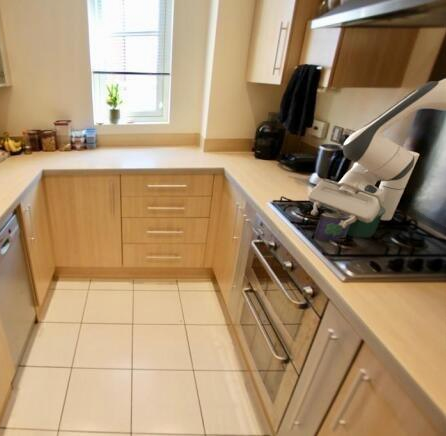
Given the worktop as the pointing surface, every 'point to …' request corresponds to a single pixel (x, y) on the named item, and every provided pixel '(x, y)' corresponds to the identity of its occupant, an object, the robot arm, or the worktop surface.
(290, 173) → the worktop surface
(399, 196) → the cylindrical container
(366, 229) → the pot
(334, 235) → the flask
